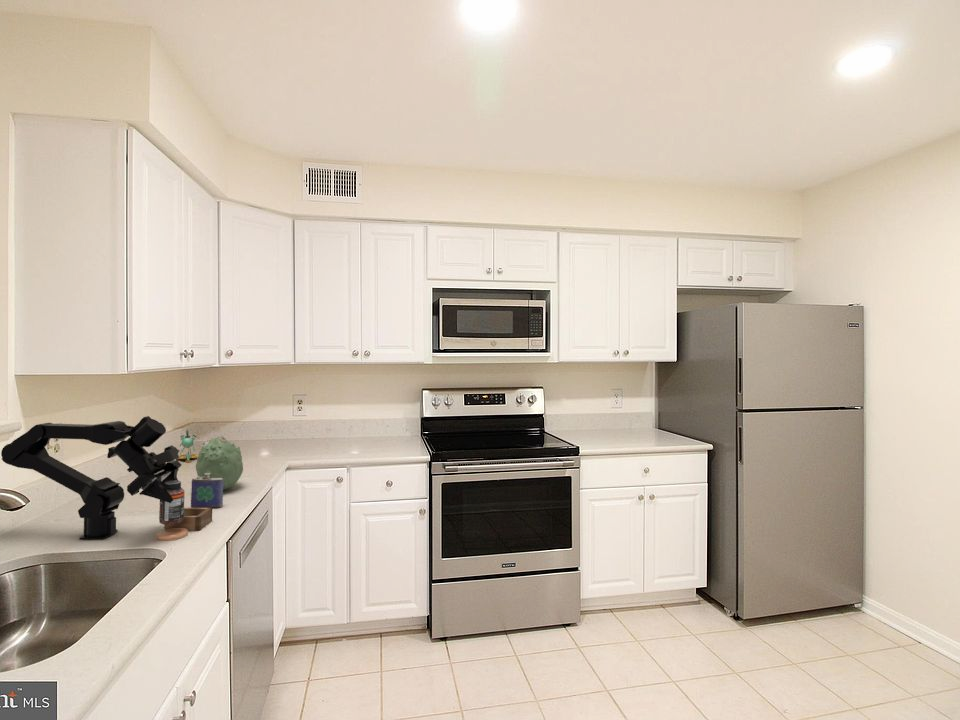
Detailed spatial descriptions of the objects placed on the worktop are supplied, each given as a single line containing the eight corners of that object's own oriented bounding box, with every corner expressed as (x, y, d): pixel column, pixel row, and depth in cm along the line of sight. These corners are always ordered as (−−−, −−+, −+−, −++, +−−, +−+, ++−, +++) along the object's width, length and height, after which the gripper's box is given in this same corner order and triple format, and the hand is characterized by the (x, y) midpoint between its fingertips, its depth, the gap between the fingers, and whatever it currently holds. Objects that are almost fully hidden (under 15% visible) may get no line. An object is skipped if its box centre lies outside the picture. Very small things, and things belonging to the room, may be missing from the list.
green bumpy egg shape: (247, 483, 205) (248, 432, 204) (236, 496, 186) (237, 440, 186) (203, 484, 201) (204, 432, 201) (188, 498, 183) (189, 441, 182)
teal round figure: (169, 464, 233) (170, 430, 234) (179, 460, 250) (180, 428, 251) (193, 462, 236) (194, 429, 237) (202, 459, 253) (202, 428, 254)
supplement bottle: (158, 520, 148) (160, 480, 148) (182, 517, 151) (184, 478, 151) (159, 526, 143) (160, 485, 143) (184, 523, 146) (185, 483, 146)
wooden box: (164, 530, 151) (164, 517, 150) (179, 520, 159) (179, 507, 159) (199, 530, 151) (199, 517, 151) (212, 520, 160) (212, 507, 160)
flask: (224, 506, 175) (224, 471, 175) (220, 509, 172) (220, 474, 172) (193, 506, 174) (193, 471, 174) (188, 509, 171) (189, 474, 171)
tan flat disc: (150, 540, 143) (150, 537, 143) (164, 531, 150) (164, 527, 150) (179, 540, 144) (179, 537, 143) (192, 531, 151) (192, 527, 151)
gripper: (140, 444, 137) (183, 487, 138) (175, 432, 155) (213, 470, 157) (107, 473, 136) (151, 516, 137) (146, 458, 155) (184, 496, 156)
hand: (177, 498), depth 147 cm, fingers closed on supplement bottle, 6 cm apart
